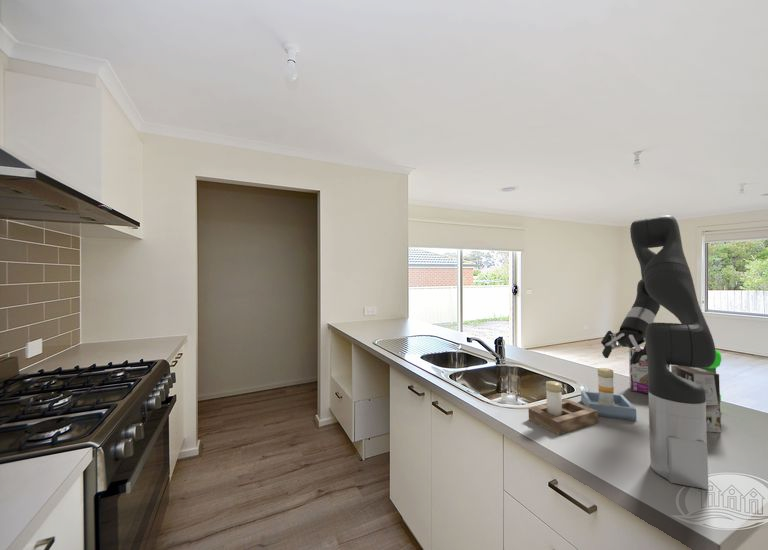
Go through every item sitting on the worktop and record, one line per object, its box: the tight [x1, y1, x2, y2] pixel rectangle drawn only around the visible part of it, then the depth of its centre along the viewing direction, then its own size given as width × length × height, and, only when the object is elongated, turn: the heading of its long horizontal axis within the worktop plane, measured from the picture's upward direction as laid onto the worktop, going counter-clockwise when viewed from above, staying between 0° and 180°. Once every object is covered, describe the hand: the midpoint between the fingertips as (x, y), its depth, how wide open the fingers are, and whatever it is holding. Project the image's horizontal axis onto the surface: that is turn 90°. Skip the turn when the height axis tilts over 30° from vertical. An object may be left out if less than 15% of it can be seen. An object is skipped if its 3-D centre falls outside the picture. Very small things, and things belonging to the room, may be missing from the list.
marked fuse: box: [597, 367, 615, 405], centre depth 100 cm, size 4×4×12 cm
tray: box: [580, 390, 637, 422], centre depth 100 cm, size 12×12×4 cm
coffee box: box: [670, 365, 722, 434], centre depth 90 cm, size 9×6×16 cm
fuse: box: [545, 380, 563, 417], centre depth 92 cm, size 4×4×12 cm
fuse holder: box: [528, 398, 599, 436], centre depth 93 cm, size 17×10×4 cm, turn 113°
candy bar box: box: [628, 346, 671, 394], centre depth 114 cm, size 11×5×16 cm, turn 58°
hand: (618, 359), depth 103 cm, fingers open, 8 cm apart
